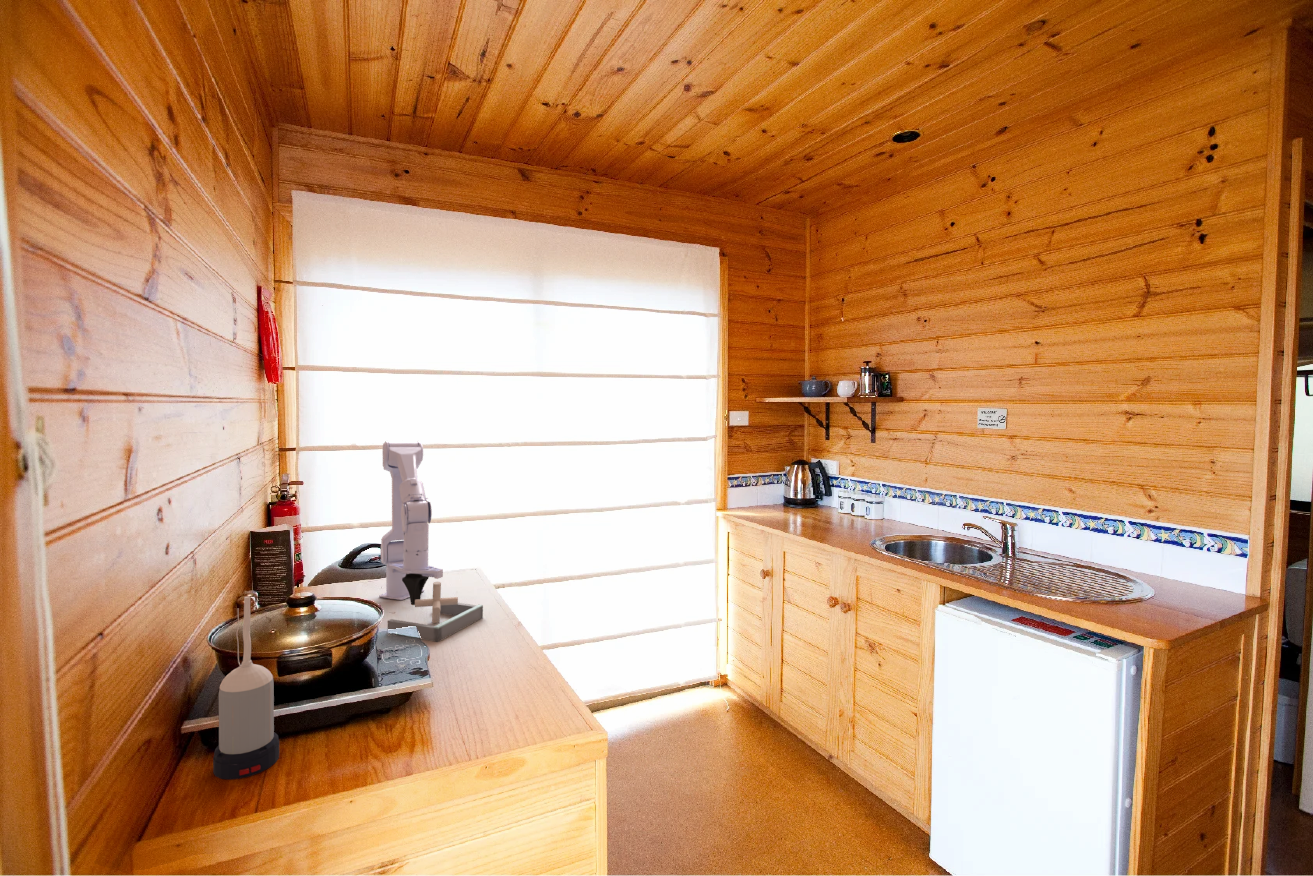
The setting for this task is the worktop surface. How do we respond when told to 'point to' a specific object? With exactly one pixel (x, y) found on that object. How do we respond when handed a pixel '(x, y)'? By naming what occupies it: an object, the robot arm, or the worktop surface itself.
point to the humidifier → (246, 716)
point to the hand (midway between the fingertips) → (415, 603)
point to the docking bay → (463, 618)
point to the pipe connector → (436, 602)
